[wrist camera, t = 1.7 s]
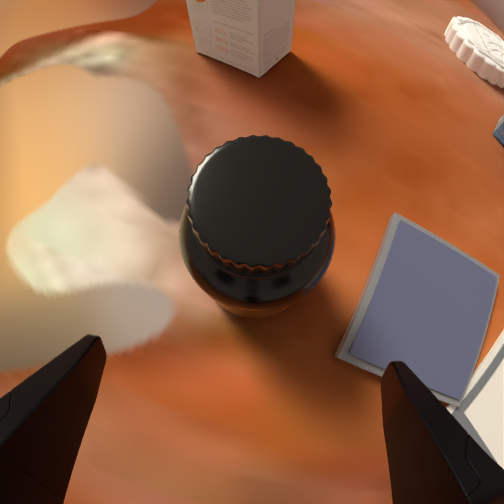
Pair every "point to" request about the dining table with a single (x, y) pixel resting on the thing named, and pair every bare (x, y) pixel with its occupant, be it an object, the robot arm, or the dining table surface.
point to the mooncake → (477, 48)
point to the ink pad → (422, 311)
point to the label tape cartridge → (500, 130)
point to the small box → (243, 31)
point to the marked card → (485, 404)
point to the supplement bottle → (257, 225)
